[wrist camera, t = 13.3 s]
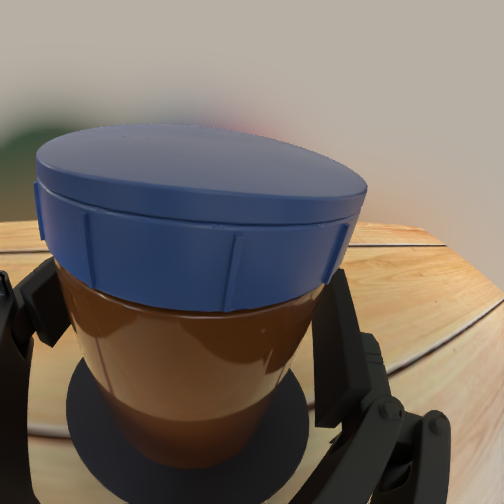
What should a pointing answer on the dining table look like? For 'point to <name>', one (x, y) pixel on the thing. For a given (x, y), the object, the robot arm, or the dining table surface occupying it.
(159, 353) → the jar
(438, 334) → the dining table surface
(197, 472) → the coaster
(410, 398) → the dining table surface
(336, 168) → the lid
